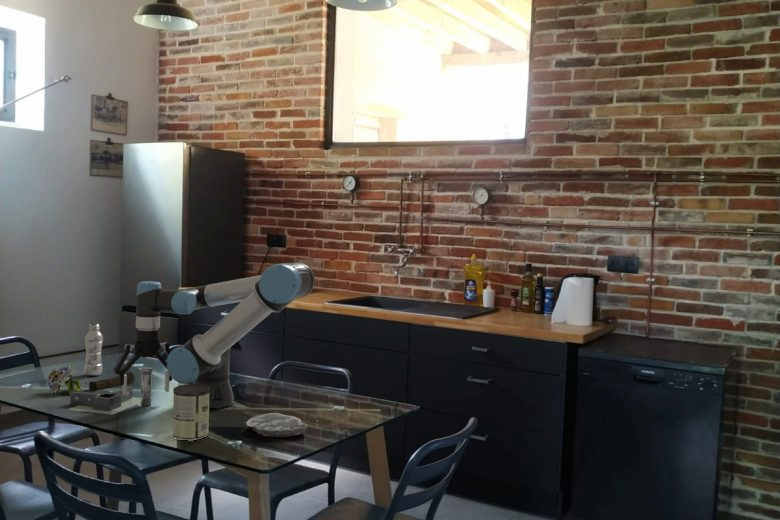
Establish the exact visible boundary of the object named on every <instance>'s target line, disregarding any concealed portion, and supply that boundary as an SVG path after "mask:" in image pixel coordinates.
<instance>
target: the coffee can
mask: <svg viewBox="0 0 780 520" xmlns="http://www.w3.org/2000/svg"><path fill="white" fill-rule="evenodd" d="M172 392H173V399H172V400H173V405H172V406H173V409H172V410H173V411H172V412H173V413H172V438H173V437H174V438H176V439H178V440H177V441H179V440H188V441H187V442H194V441H193V440H197V439H201V438H203V437H206V436H207V435H208V434H209V433H210V430H209V428H210V427H209V426H210V424H209V423H210V409H209V394H210V387H208V386H206V385H199V384H193V383H188V384H181V385H179V386H175V387H173V391H172ZM174 438H173V439H174ZM176 439H175V440H176Z"/></svg>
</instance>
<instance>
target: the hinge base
mask: <svg viewBox="0 0 780 520" xmlns="http://www.w3.org/2000/svg"><path fill="white" fill-rule="evenodd" d="M69 397H70V399H69V400H70V401H69V404H70V405H72V406H78V405H79V406H88V407H93V410H103V411H112V410H114V409H117V408H119V407H121V394H112V392H111V393H109V392H103V393H101V394H99V393H89V392H81V391H80V392H77V391H74V392H70V395H69Z"/></svg>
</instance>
